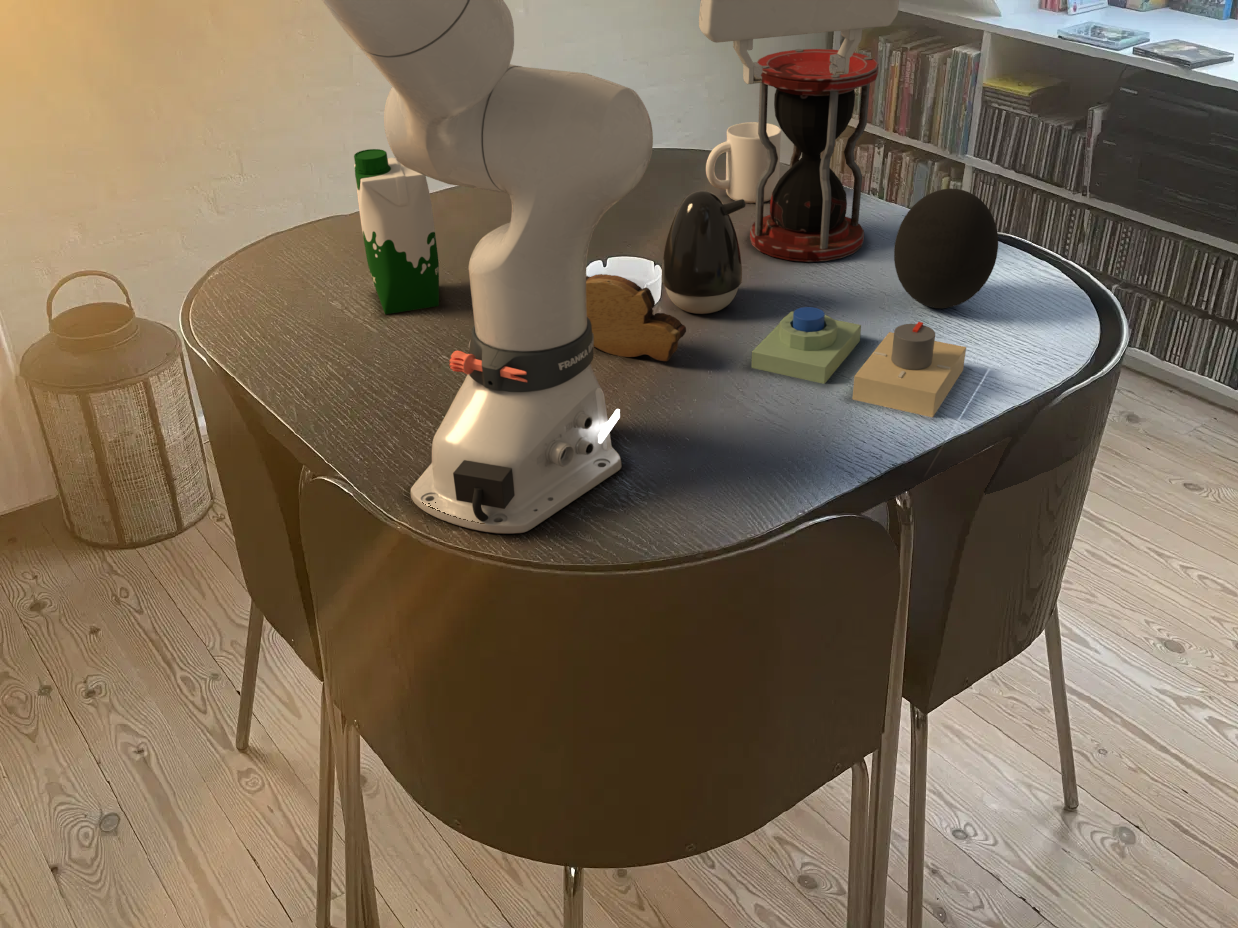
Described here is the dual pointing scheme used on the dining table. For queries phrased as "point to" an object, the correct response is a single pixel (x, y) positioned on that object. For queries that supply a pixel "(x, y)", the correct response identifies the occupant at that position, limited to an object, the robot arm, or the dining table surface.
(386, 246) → the milk carton
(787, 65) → the hourglass
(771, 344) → the button housing
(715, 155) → the mug
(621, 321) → the wooden carving
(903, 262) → the decorative egg
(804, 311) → the button
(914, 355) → the dial
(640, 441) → the dining table surface
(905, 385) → the dial panel
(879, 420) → the dining table surface
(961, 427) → the dining table surface
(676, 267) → the pump dispenser
